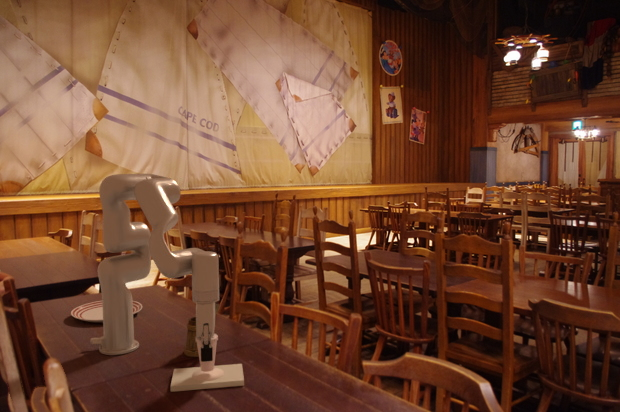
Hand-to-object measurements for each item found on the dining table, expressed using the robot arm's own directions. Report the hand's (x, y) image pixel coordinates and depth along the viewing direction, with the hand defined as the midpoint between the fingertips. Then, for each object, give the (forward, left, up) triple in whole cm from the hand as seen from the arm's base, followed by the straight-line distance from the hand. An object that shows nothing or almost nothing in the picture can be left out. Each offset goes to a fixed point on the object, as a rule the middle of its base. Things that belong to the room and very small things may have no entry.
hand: (207, 355), depth 146 cm
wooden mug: (-2, +21, -7) cm, 22 cm away
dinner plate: (-42, +72, -7) cm, 83 cm away
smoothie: (0, 0, -4) cm, 4 cm away
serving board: (0, 0, -7) cm, 7 cm away
